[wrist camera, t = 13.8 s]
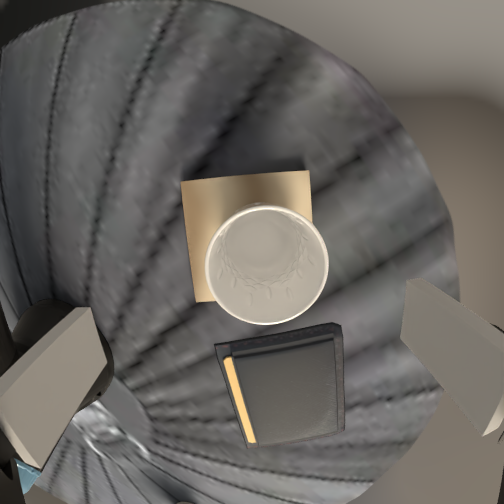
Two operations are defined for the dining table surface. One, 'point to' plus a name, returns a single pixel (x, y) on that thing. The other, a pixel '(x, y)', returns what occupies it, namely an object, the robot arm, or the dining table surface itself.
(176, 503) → the house plant
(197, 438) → the dining table surface
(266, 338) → the black book
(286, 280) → the white cup
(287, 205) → the oak coaster board
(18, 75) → the dining table surface
